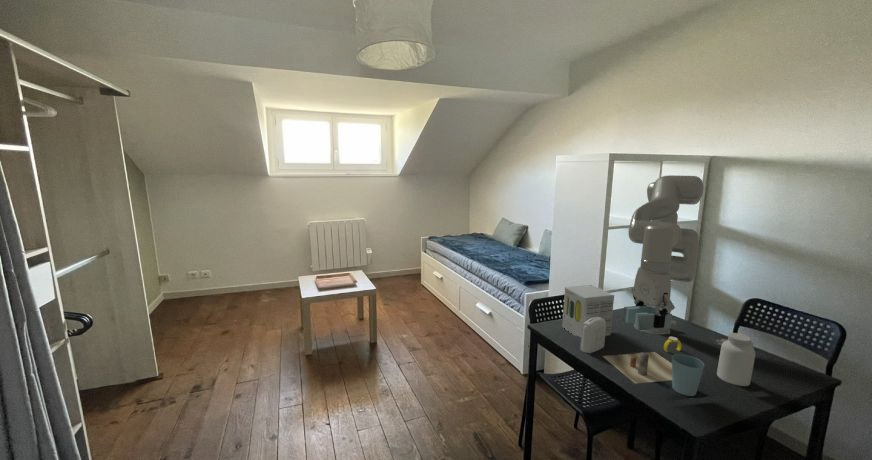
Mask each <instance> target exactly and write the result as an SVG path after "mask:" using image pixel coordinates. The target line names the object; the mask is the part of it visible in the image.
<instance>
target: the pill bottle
mask: <svg viewBox="0 0 872 460" xmlns="http://www.w3.org/2000/svg"><path fill="white" fill-rule="evenodd" d="M727 340H728V341H725V342H723V343H722V345H720V346H721V347H720V352H719V353H720V354H719V357H718V358H719V359H718V365H717V369H716V370H717V371H716V375H717V377H718V378H719V379H720V380H722V381H724V382H726V383H729V384H731V385H735V386H740V387H748V386H750V385H751V381H752V376H753V371H754V365H755V360H756V351H755V349H754V348H752V347H751V341H752V338H751V337H750V336H748V335H745V334H743V333H738V332H730V333H729V334H728V335H727Z"/></svg>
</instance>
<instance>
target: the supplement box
mask: <svg viewBox="0 0 872 460" xmlns="http://www.w3.org/2000/svg"><path fill="white" fill-rule="evenodd" d="M614 301H615V294H612V293H610V292H608V291H606V290H604V289H602V288H599V287H597V286H595V285H594V284H583V285H574V286H565V287H564V297H563V310H562V311H563V312H562V313H563V314H562V328H563V329H564V328H565V329H564V330H566V331H567V332H568V331H569V332H568V333H570V334H571V333H572V334H571V335H572V336H573V337H579V338H581V332H582V325H583V324H584V323H585V322H586V321H587V320H589V319H591V318H594V317H600V318H603V319H604V320H605V321H606V332H605V337H607V336H611V332H612V321H613V312H614V304H615V303H614Z"/></svg>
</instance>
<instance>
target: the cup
mask: <svg viewBox="0 0 872 460" xmlns="http://www.w3.org/2000/svg"><path fill="white" fill-rule="evenodd" d="M671 363H672V380H671V388H672V389H673V390H674V391H675V392H676V393H679V394H680V395H683V396H687V397H688V398H687V400H693V399H695V397H694V396H696V395H697V392H698V389H699V386H700V381H701V379H702V375H703V372H704V369H705V363H704V362H703V361H702V360H701V359H699V358H697V357H694V356H692V355H688V354H683V353H675V354H673V355H672V356H671Z"/></svg>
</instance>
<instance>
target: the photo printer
mask: <svg viewBox="0 0 872 460" xmlns="http://www.w3.org/2000/svg"><path fill="white" fill-rule="evenodd" d="M605 332H606V321H605V320H604V319H603V318H600V317H594V318H591V319H589V320H587V321H586V322H585V323H584V324H583V325H582V332H581V337H580V346H579V350H580V351H582V352H583V353H585V354H586V353H587V354H593V353H594V352H596V351H599V350H601V349H603V348H604V347H605V342H606V336H605Z"/></svg>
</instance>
